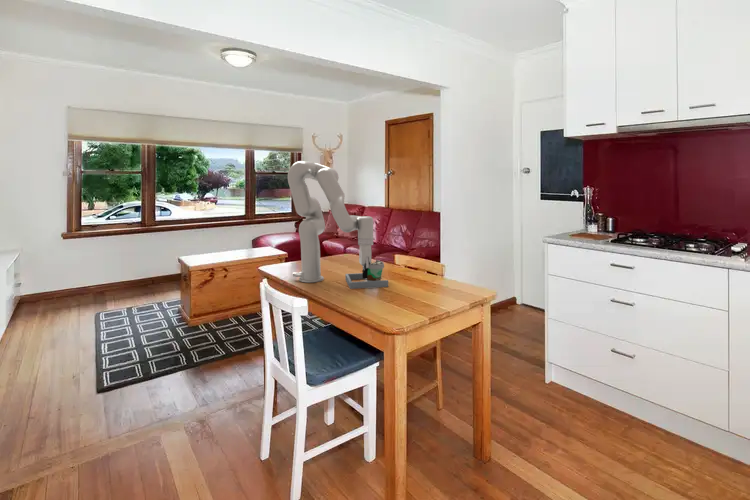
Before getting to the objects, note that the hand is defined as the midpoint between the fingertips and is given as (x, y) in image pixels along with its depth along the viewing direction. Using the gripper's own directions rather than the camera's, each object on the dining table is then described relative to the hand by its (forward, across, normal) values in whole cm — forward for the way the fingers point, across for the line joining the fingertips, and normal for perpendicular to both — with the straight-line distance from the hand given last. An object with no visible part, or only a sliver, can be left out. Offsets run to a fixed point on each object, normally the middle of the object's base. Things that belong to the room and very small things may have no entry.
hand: (365, 277), depth 209 cm
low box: (+3, 0, 0) cm, 3 cm away
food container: (+3, 0, +5) cm, 6 cm away
